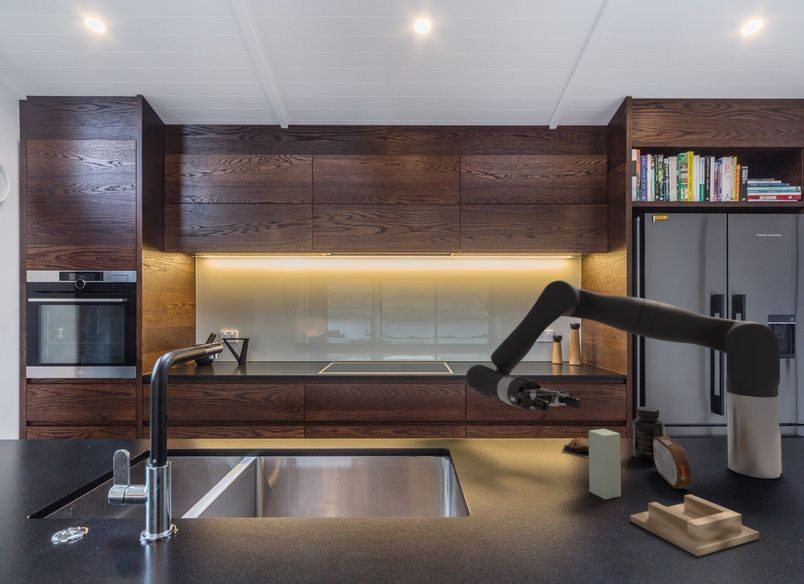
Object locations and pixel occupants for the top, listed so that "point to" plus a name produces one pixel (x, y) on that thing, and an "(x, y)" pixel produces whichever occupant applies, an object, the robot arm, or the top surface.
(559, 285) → the robot arm
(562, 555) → the top surface
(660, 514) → the rack
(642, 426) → the supplement bottle
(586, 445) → the bread roll
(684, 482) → the tin
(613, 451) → the green block
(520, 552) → the top surface
